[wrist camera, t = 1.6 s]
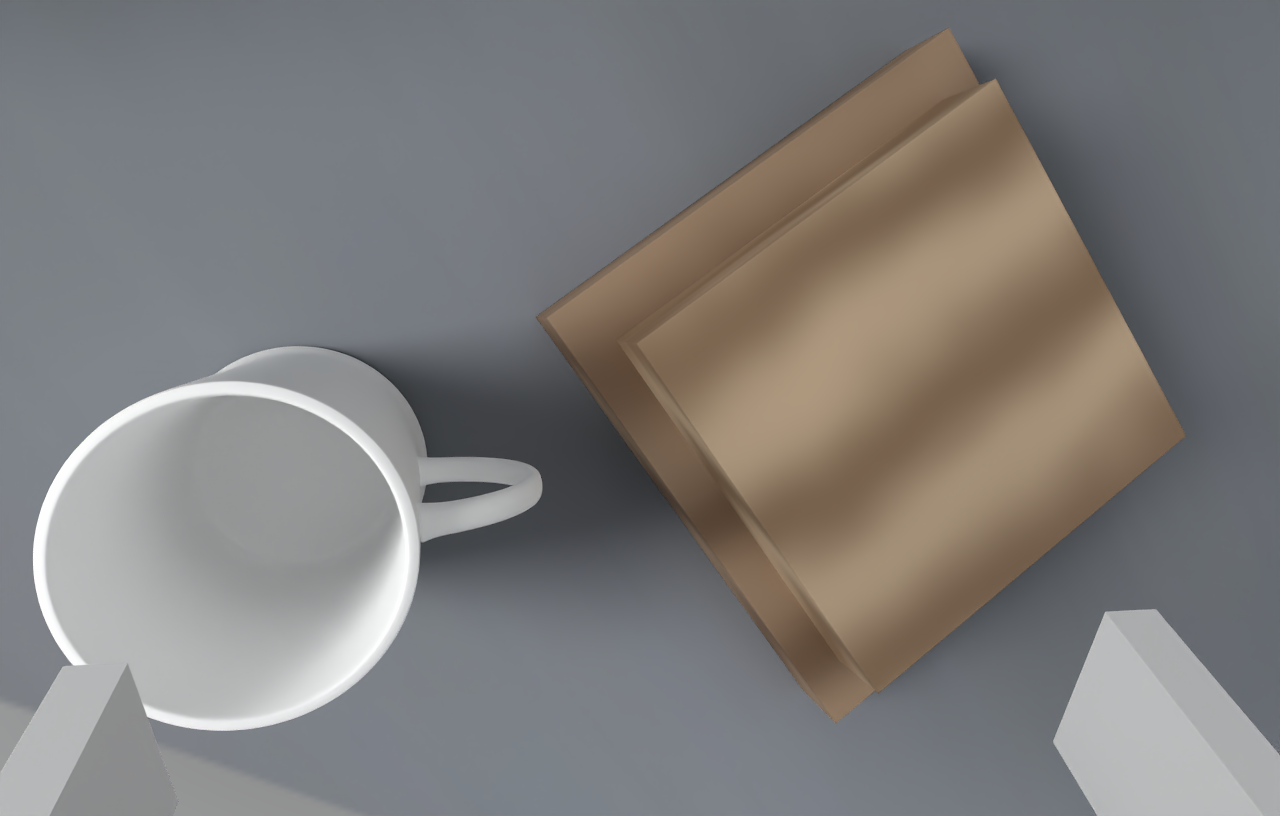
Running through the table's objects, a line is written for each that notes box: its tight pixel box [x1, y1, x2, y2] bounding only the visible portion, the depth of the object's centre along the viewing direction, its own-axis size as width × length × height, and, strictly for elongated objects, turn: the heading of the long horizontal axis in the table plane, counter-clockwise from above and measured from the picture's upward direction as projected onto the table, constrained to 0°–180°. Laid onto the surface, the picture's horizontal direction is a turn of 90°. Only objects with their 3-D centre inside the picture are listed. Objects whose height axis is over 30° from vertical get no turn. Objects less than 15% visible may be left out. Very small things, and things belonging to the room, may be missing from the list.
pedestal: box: [536, 28, 1186, 723], centre depth 33 cm, size 19×18×6 cm
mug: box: [33, 346, 542, 731], centre depth 26 cm, size 12×8×12 cm
